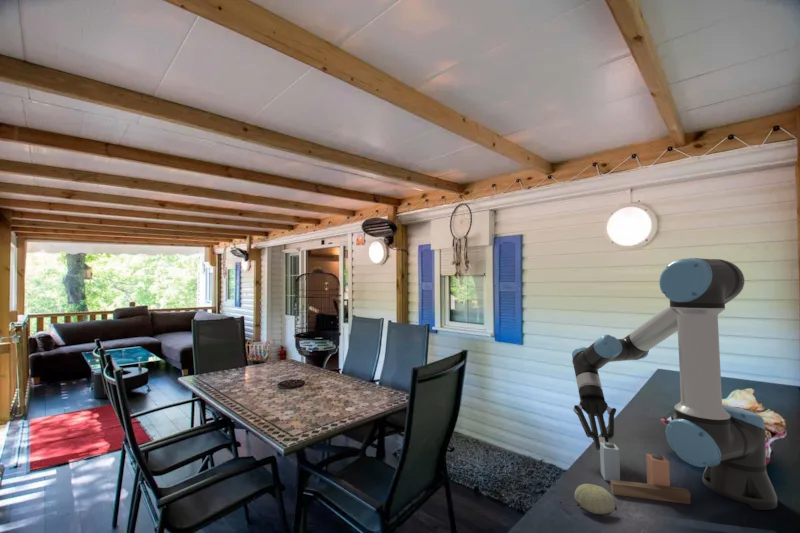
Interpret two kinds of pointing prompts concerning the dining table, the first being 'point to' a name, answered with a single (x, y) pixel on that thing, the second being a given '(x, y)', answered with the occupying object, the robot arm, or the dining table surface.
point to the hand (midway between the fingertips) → (605, 460)
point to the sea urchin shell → (594, 499)
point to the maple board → (650, 491)
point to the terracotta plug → (657, 470)
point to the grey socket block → (609, 461)
